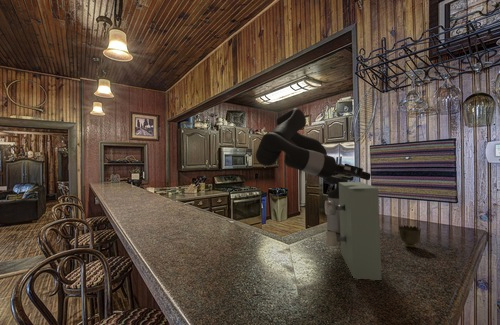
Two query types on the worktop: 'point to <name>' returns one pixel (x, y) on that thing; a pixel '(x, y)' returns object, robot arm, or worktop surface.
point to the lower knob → (333, 238)
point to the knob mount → (360, 229)
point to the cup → (409, 235)
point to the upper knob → (332, 208)
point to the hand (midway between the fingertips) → (360, 177)
